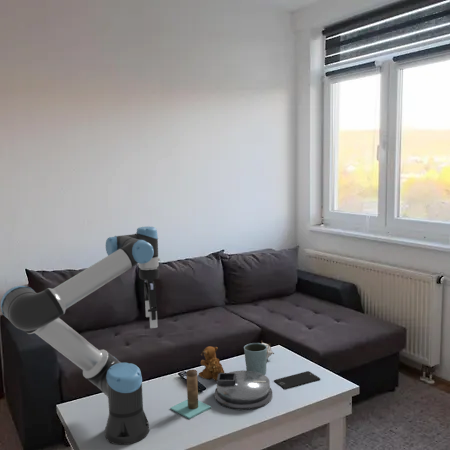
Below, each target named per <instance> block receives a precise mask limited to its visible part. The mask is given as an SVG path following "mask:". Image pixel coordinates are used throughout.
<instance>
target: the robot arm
mask: <svg viewBox="0 0 450 450" xmlns="http://www.w3.org/2000/svg"><path fill="white" fill-rule="evenodd" d="M158 236H159V235H158V229H157V228H156V227H154V226H139V227H137V228H136V233H132V234H124V235H114V236H109V237H107V238H106V241H105V252H106V254H107V256H105V257H104V258H102V259H100V260H99V261H97V262H95V263H94V264H91V265H90V266H89V267H87V268H85V269H83V270H82V271H80V272H78V273H77V274H76V275H74V276H72V277H71V278H69V279H67V280H66V281H63V282H62V283H60V284H59V285H57V286H56V287H54V288H50V287H48V288H45V289H44V290H42V291H40V292H36V291H35V290H34V289H33V288H32V287H29V286H26V285H17V286H14V287H13V286H12V287H11V288H9V289H8V290H6V292H5V293H4V294H3V296H2V298H1V300H0V309H1V313H2V315H3V316H4V317H5V318H6V319H8V321H9V322H10V323H11V324H12V325H13V326H14V327H15V328H17V329H18V330H21V331H23V332H24V333H25V334H28V335H32V334H35V335H36V336H38V337H39V338H41V339H42V340H43V341H44V342H46V343H47V344H48V345H50V346H51V347H52V348H53V349H54V350H56V351H58V353H60V354H61V355H63V356H64V357H65V358H67V360H69V361H71V363H73V364H74V365H75V366H77V367H78V368H79V369H81V370H82V376H83V377H84V378H85V379H86V380H88V381H89V382H90V383H91V384H93V385H94V386H95V387H97V388H98V389H99V390H100V391H101V392H102V393H103V394H104V395H105V396H106V397H107V400H108V402H107V403H108V417H107V420H106V426H105V428H104V429H105V430H104V433H105V434H104V435H105V439H106V440H107V441H108V443H109V442H110V443H112V444H115V445H130V444H134V443H137V442H140V441H142V440H143V439H144V438H146V437H147V436H148V435H149V433H150V422H149V420H148V417H147V415H146V413H145V410H144V402H143V401H144V400H143V399H144V397H143V377H142V372H141V369H140V368H139V367H138V366H137V365H136V364H134V363H129V362H121V361H119V359H118V358H116V357H115V356H114V355H112V354H111V353H110V352H109V351H107V350H106V349H98V348H97V347H95V346H94V344H92V343H90V342H89V341H88V340H87V339H86V338H85V337H84V336H82V335H81V334H79V332H77V331H76V330H75V329H73V327H71V326H70V325H68V324H67V323H66V322H65V321H64V320H63V319H61V318H60V317H62V316H63V315H65V313H66V310H68V309H69V308H70V307H71V306H73V305H75V304H77V302H78V303H79V302H80V301H81V300H82V299H84V298H86V297H87V296H89V295H91V294H92V293H94V292H96V291H97V290H98V289H100V288H101V287H103V286H104V285H106V284H108V283H109V282H111V281H112V280H114V279H116V278H117V277H119V276H121V275H122V274H124V273H125V272H127V271H128V270H130V269H132V268H133V267H134V266H136V265H138V268H139V269H138V276H139V279H140V280H142V281H144V282H143V286H144V287H143V288H144V290H143V291H144V295H143V296H144V303H145V308H144V309H145V317H146V318H149V329H156V328H158V304H157V300H158V299H157V293H156V292H157V289H156V282H155V280H156V279H158V278H159V277H160V268H159V265H160V264H159V261H161V258H160V257H159V243H158V239H159V238H158Z"/></svg>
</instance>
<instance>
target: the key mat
mask: <svg viewBox="0 0 450 450" xmlns="http://www.w3.org/2000/svg"><path fill="white" fill-rule="evenodd" d="M169 408H170V409H169V410H171V411H174V412H175V413H177V414H179V415H181V416H182V417H184V418H187V419H188V420H190V419H193V418H194V417H197V416H198V415H201V414H202V413H204V412H206V411H208V410H210V409H212V406H211V405H209V404H207V403H204V402H203V401H201V400H199V399H198V408H197V409H189V408H188V398H187V399H185V400H183V401H181V402H180V403H177V404H175V405H173V406H171V407H169Z"/></svg>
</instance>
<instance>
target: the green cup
mask: <svg viewBox="0 0 450 450" xmlns="http://www.w3.org/2000/svg"><path fill="white" fill-rule="evenodd" d="M261 343H262V342H261ZM261 343H260V342H252V343H251V342H250V343H248V344H246V345H244V346H243V351H244V359H245V361H244V362H245V366H246V368H245V369H246V370H245V371H254V372H258V373H261V374H263V375H265V376H266V374H267V363H268V362H267V361H268V359H267V357H266V356H267V346H266V345H264V344H261Z"/></svg>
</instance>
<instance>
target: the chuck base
mask: <svg viewBox="0 0 450 450" xmlns="http://www.w3.org/2000/svg"><path fill="white" fill-rule="evenodd" d="M272 399H273V390H272V388H271V387H270V393H269V395H268V397H267V398H265V399H264V400H262V401H260V402H256V403H252V404H234V403H230V402H227V401H224V400H222V399H221V398H220V397H219V396H218V394H217V387H216V388H215V390H214V400H215V401H216V402H217V404H219V405H220V406H222V407H224V408H227V409H231V410H235V411H238V410H239V411H248V410H249V411H251V410H256V409H259V408H262V407H265V406H266V405H268V404H269V403H270V402H271V400H272Z"/></svg>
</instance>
